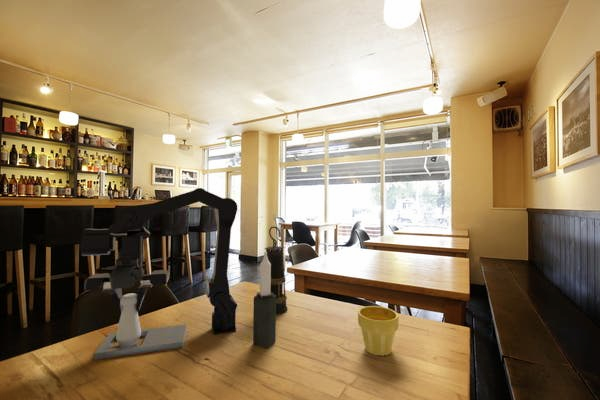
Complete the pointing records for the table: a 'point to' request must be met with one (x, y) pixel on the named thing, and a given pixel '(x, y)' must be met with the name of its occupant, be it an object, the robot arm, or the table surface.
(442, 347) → the table surface
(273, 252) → the lantern
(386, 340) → the plant pot
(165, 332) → the rail plate
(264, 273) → the candle
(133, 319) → the salt shaker
